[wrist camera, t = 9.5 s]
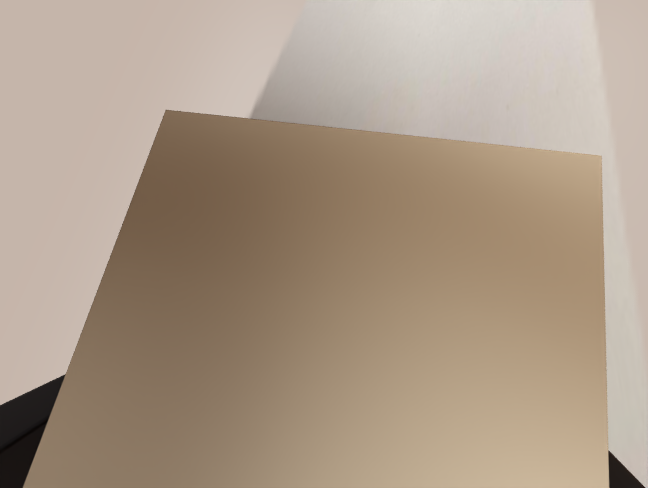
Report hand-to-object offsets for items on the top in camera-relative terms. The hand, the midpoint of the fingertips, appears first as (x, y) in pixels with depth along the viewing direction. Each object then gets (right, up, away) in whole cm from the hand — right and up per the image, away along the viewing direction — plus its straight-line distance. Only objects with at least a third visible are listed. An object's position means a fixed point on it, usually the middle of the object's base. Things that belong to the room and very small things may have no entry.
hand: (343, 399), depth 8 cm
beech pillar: (+1, -1, +6) cm, 7 cm away
